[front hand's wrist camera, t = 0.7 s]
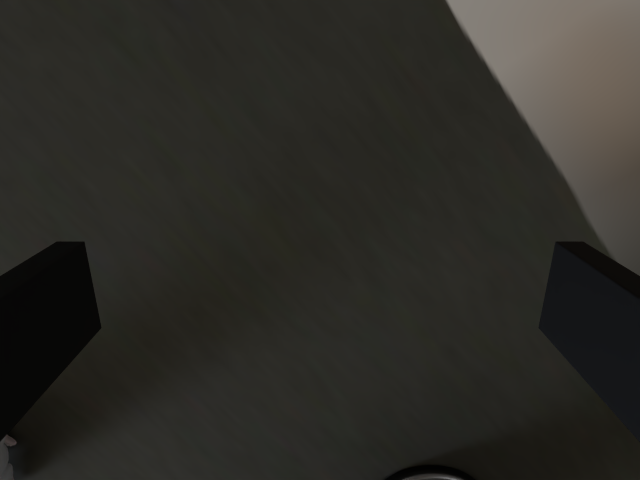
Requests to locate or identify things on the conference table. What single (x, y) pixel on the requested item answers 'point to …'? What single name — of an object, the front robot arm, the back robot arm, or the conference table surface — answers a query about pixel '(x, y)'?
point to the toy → (6, 458)
